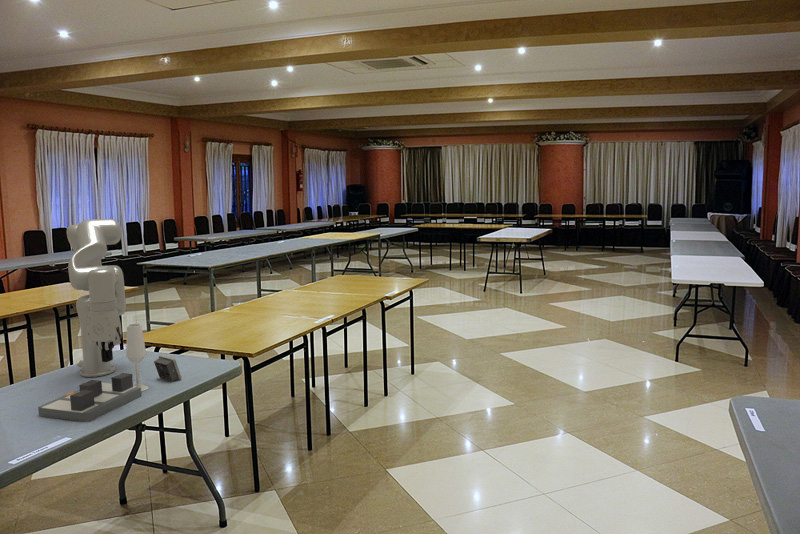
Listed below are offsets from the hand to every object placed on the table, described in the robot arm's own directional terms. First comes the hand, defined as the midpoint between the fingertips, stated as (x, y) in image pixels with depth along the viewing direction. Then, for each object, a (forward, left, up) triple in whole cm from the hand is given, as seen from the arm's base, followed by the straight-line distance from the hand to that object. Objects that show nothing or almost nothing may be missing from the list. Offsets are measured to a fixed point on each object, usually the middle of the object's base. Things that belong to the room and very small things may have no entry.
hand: (107, 360), depth 197 cm
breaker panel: (-8, +1, -17) cm, 19 cm away
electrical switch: (0, +31, -17) cm, 35 cm away
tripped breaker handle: (-8, +1, -13) cm, 15 cm away
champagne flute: (-4, +19, -17) cm, 26 cm away
